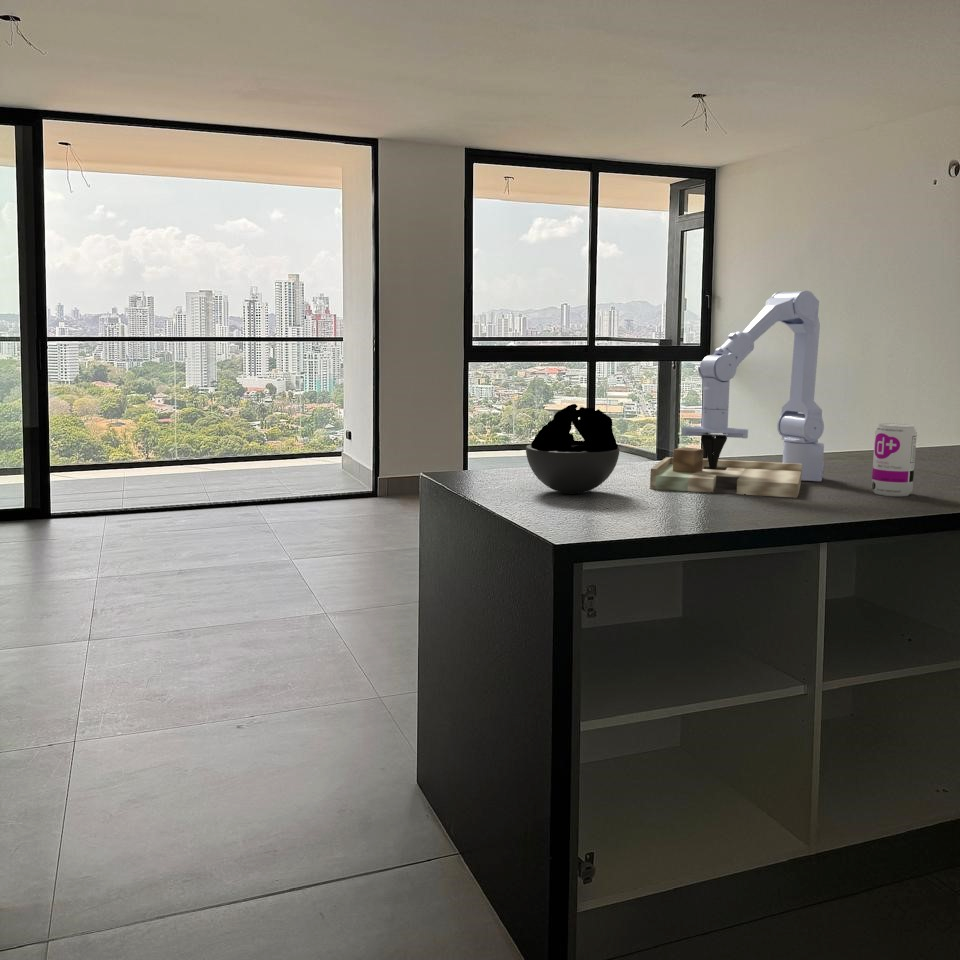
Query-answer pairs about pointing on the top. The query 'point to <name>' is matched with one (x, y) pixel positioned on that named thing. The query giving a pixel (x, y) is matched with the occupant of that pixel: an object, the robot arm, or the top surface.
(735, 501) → the top surface
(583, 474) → the bowl of black rocks
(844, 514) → the top surface
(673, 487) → the wooden tray
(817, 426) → the robot arm
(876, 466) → the supplement can
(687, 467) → the walnut block
